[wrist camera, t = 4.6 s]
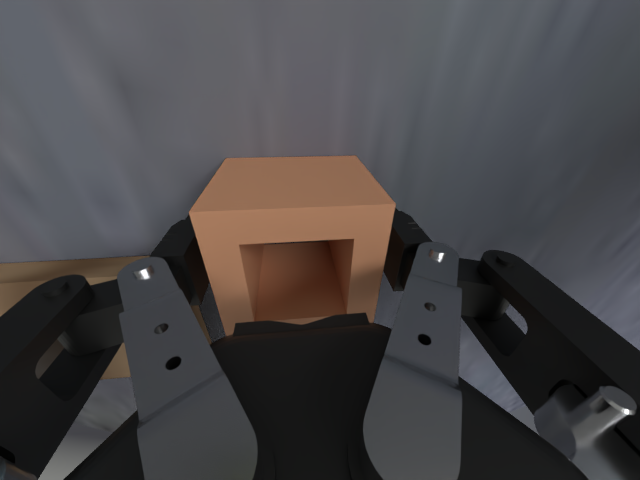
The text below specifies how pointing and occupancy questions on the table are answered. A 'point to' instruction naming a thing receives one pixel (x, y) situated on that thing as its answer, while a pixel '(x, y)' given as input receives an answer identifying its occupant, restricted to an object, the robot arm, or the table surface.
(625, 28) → the table surface
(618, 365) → the robot arm
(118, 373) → the shaft block
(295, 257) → the orange hollow square block
